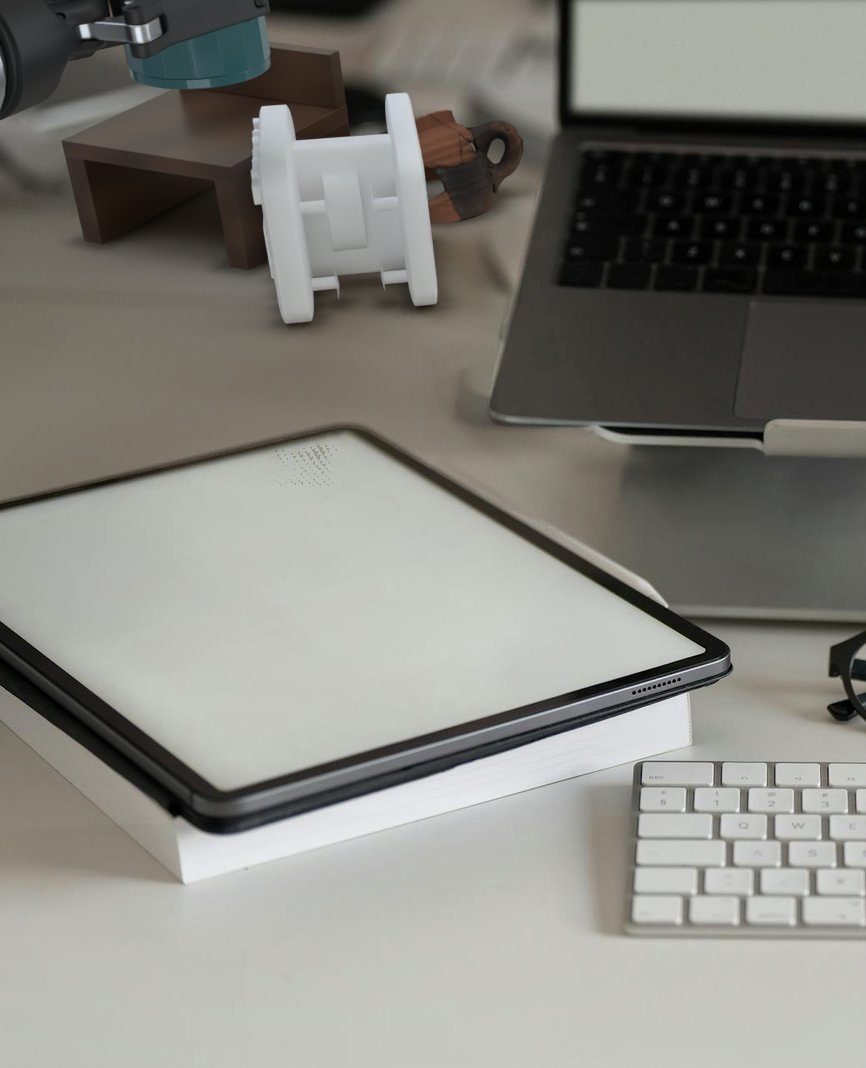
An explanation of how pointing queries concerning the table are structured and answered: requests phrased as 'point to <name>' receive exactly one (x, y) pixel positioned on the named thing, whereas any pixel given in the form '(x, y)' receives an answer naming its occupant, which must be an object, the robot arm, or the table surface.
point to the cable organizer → (342, 207)
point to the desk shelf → (201, 148)
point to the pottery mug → (464, 163)
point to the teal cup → (207, 59)
